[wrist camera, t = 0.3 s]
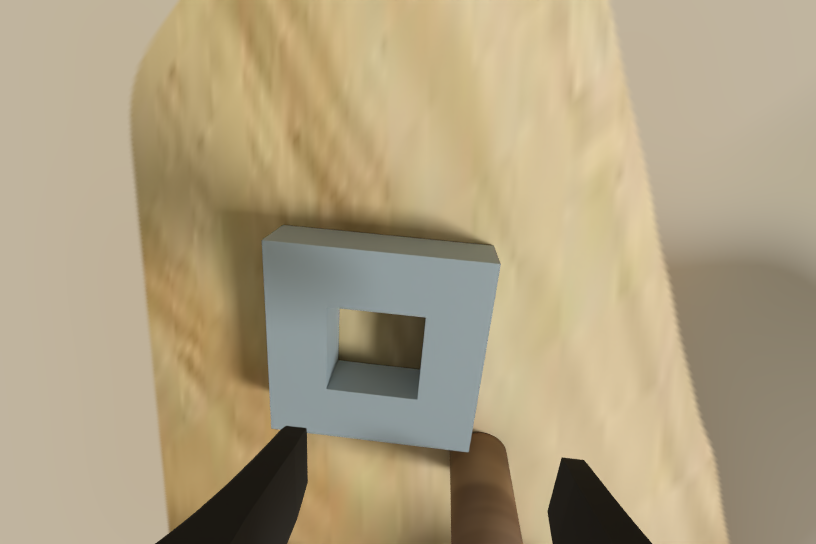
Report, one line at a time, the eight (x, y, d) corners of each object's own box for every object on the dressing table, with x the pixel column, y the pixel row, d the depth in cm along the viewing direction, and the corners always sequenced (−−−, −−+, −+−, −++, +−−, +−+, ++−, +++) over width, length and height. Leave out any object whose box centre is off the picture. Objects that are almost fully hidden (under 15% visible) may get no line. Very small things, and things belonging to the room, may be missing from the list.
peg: (501, 479, 25) (522, 612, 18) (447, 472, 25) (448, 602, 18) (510, 436, 23) (536, 561, 17) (453, 429, 24) (457, 551, 17)
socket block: (466, 418, 23) (468, 452, 21) (288, 397, 24) (271, 428, 21) (493, 245, 20) (500, 264, 17) (283, 224, 20) (261, 240, 18)
